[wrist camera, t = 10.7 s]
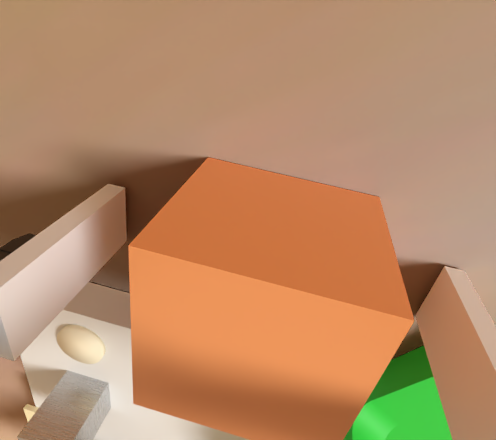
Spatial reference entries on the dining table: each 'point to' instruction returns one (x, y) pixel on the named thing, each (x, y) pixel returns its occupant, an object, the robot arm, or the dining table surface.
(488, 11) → the dining table surface
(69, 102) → the dining table surface
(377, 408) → the mechanical part
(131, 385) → the panel
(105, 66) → the dining table surface
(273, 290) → the cap
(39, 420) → the post
